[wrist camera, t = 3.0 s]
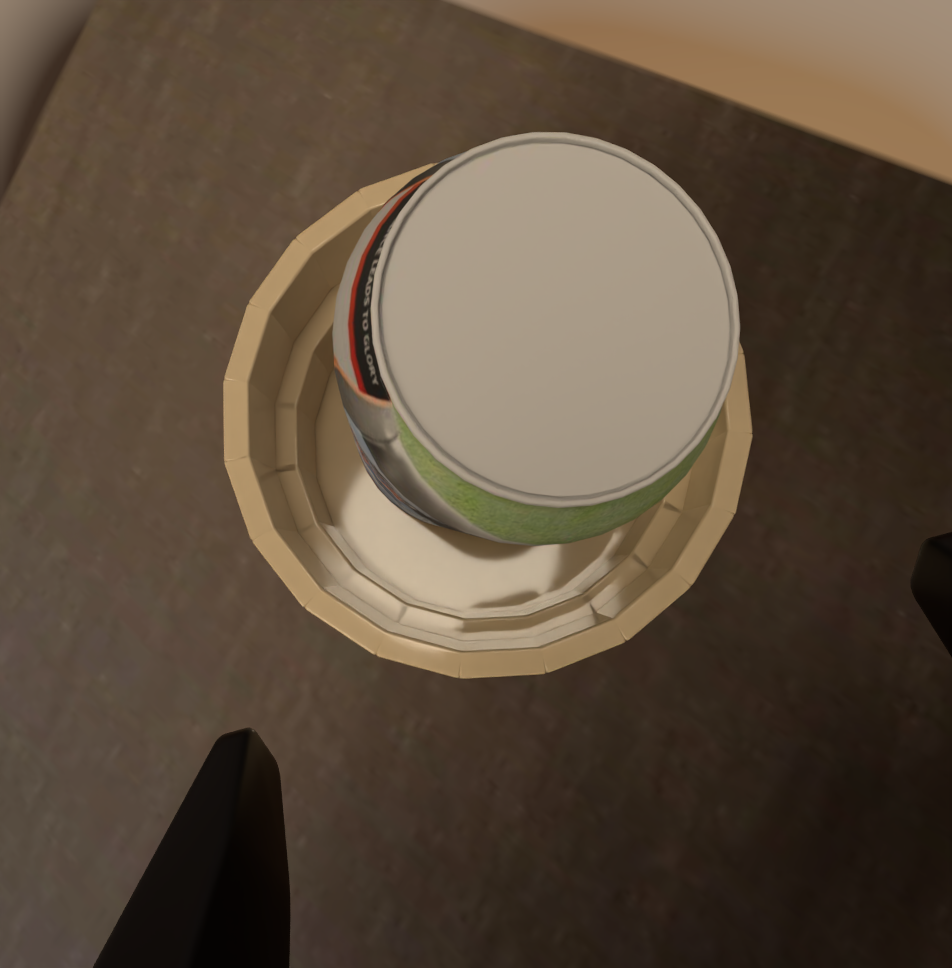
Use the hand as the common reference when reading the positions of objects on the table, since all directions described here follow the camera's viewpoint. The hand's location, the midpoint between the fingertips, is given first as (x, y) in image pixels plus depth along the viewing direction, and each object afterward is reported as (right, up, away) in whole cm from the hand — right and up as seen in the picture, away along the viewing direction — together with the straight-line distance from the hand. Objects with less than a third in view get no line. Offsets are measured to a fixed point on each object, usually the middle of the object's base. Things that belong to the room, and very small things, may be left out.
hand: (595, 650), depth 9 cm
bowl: (-1, +3, +12) cm, 13 cm away
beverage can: (-1, +3, +12) cm, 12 cm away
